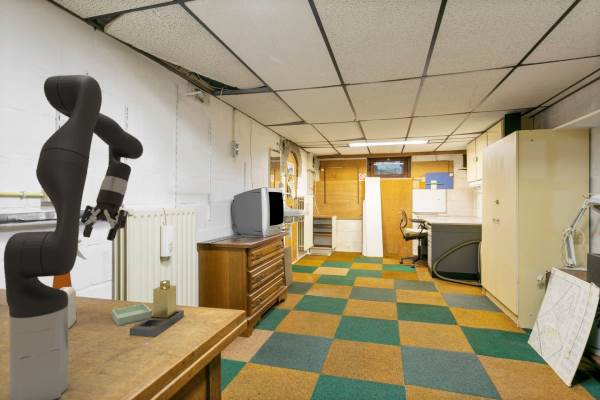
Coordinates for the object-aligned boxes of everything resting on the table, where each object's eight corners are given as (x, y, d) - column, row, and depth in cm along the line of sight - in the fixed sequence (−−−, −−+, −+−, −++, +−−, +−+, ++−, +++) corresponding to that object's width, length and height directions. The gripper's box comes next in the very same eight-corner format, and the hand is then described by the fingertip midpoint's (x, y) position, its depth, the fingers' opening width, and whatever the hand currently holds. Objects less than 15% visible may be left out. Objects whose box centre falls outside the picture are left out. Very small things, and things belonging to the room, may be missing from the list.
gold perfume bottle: (176, 318, 103) (176, 279, 103) (167, 324, 98) (167, 283, 98) (162, 317, 104) (162, 279, 104) (153, 323, 99) (153, 283, 99)
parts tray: (151, 318, 103) (151, 310, 103) (117, 326, 97) (117, 318, 97) (143, 310, 111) (143, 303, 111) (111, 317, 104) (111, 309, 104)
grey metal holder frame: (183, 316, 105) (183, 310, 105) (154, 337, 89) (154, 330, 89) (162, 315, 106) (162, 309, 106) (129, 335, 91) (129, 328, 91)
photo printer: (64, 333, 92) (64, 292, 92) (47, 335, 90) (47, 293, 90) (78, 320, 102) (77, 283, 102) (62, 322, 100) (62, 284, 100)
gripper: (85, 186, 103) (69, 234, 98) (124, 190, 101) (109, 239, 97) (101, 193, 110) (87, 238, 106) (138, 197, 108) (125, 243, 104)
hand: (98, 238), depth 101 cm, fingers open, 8 cm apart
